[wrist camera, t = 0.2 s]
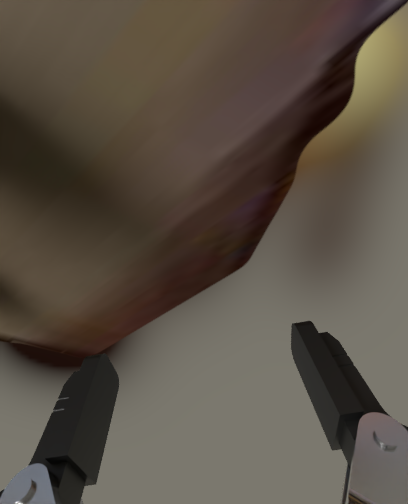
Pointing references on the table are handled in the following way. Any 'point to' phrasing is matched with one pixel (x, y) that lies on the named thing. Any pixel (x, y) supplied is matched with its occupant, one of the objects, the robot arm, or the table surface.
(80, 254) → the table surface
